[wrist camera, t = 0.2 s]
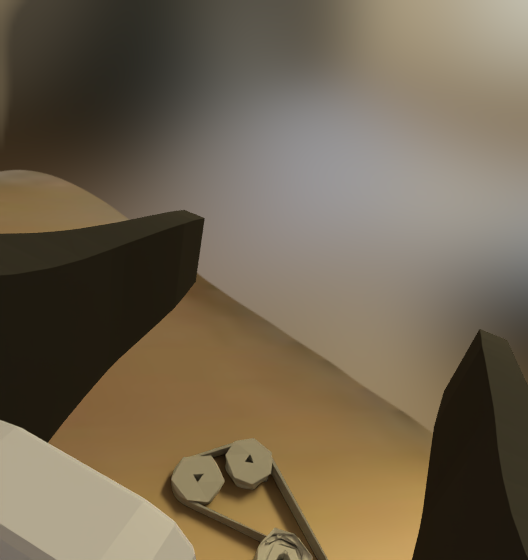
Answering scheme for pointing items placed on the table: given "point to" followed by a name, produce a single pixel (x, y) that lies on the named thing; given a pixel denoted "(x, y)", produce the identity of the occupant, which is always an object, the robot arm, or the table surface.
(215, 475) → the pulley system
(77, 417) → the table surface
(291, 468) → the table surface
